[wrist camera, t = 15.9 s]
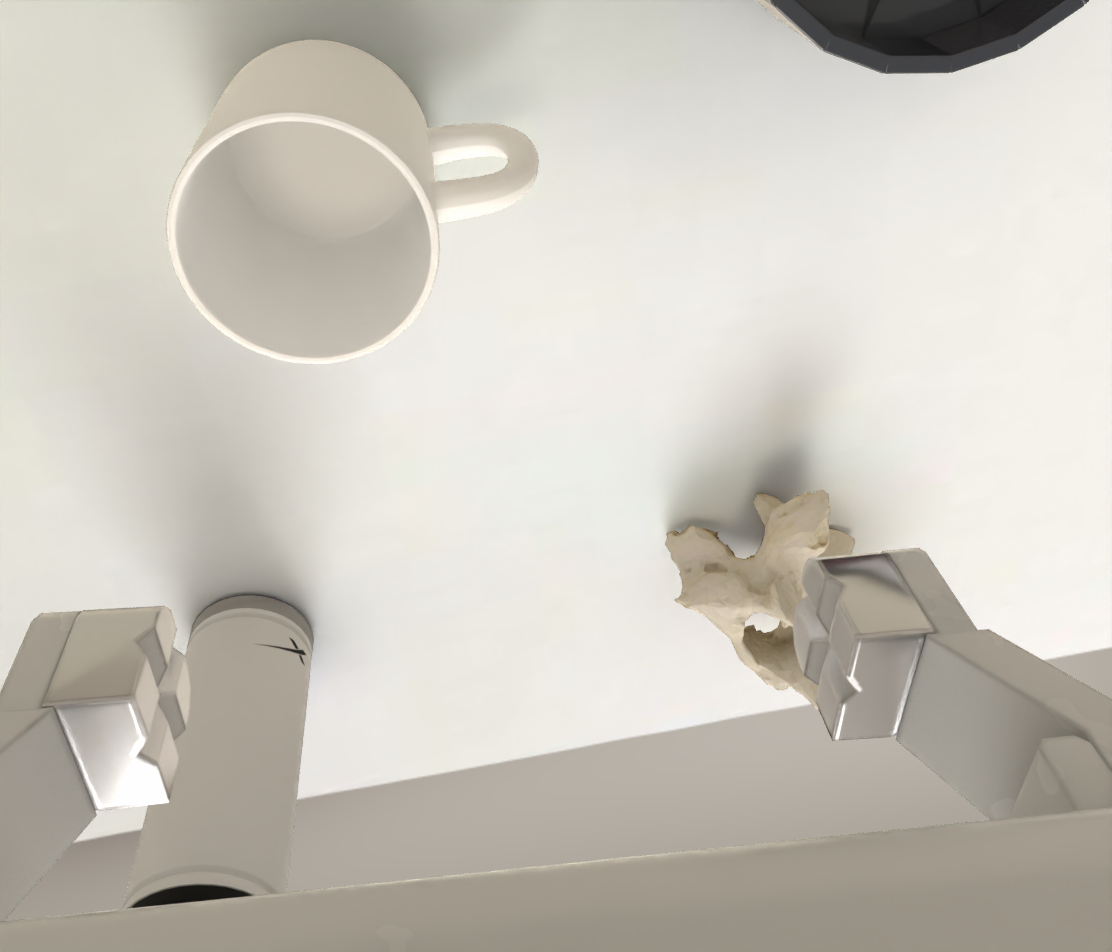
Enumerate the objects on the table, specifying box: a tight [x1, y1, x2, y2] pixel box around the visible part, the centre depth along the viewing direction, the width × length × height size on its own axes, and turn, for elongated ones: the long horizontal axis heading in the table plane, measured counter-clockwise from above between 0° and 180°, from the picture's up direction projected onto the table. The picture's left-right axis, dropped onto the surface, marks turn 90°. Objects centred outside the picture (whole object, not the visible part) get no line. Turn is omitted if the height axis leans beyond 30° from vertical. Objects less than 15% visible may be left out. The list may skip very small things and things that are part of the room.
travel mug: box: [123, 595, 313, 909], centre depth 46 cm, size 6×7×20 cm
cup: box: [166, 40, 539, 364], centre depth 36 cm, size 8×12×10 cm
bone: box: [665, 490, 855, 709], centre depth 52 cm, size 9×14×8 cm, turn 40°
